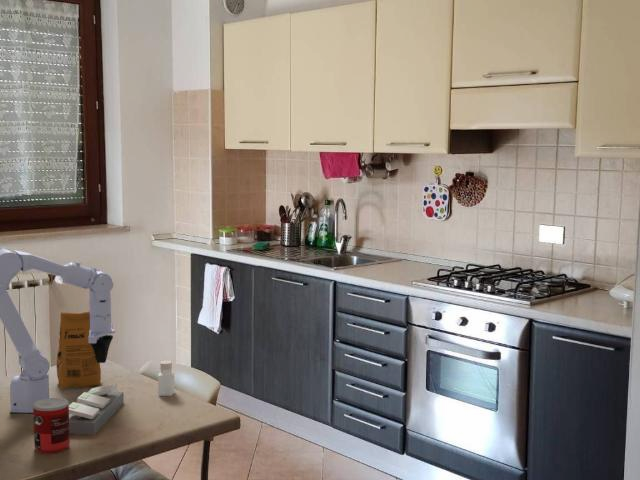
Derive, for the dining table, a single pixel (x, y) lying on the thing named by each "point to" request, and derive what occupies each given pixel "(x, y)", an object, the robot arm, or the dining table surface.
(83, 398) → the rocker
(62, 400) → the canned food
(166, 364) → the pepper shaker
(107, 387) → the rocker
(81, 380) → the coffee package
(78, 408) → the rocker
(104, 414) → the switch strip
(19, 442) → the dining table surface
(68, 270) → the robot arm
